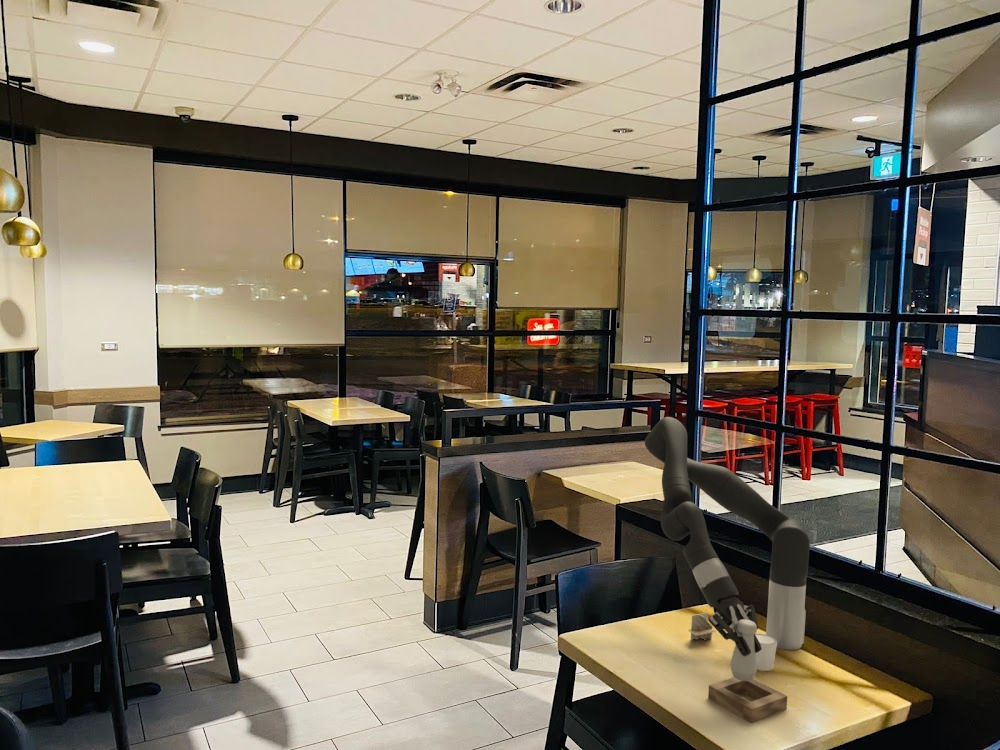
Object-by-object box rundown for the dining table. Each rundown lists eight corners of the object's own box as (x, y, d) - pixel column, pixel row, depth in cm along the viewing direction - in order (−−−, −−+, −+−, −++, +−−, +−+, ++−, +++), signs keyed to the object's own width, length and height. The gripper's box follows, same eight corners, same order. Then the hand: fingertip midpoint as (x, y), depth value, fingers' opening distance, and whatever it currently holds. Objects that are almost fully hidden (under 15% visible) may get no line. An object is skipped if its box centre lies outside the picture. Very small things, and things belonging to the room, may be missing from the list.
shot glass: (776, 663, 190) (778, 636, 189) (774, 674, 184) (776, 646, 183) (748, 657, 193) (750, 631, 192) (745, 668, 186) (747, 640, 186)
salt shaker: (757, 685, 165) (762, 628, 164) (730, 681, 167) (735, 625, 165) (754, 672, 171) (758, 618, 170) (728, 669, 172) (732, 614, 171)
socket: (743, 685, 177) (743, 673, 177) (786, 708, 167) (787, 695, 167) (708, 698, 170) (708, 685, 170) (751, 722, 160) (752, 709, 160)
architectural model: (715, 643, 202) (716, 616, 201) (695, 647, 198) (697, 620, 198) (706, 638, 205) (708, 612, 204) (686, 642, 202) (688, 615, 201)
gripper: (725, 584, 182) (762, 653, 173) (684, 593, 175) (721, 666, 165) (744, 570, 177) (784, 640, 168) (703, 579, 170) (742, 653, 160)
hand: (752, 652), depth 167 cm, fingers closed on salt shaker, 3 cm apart
